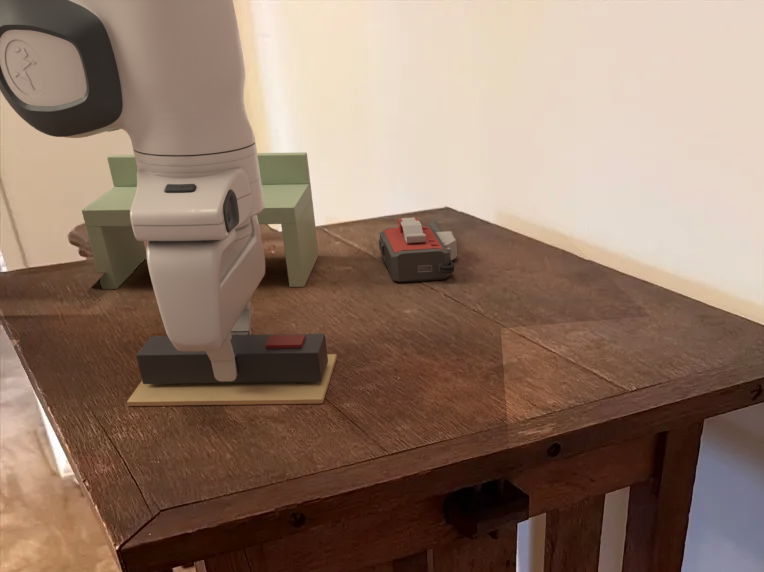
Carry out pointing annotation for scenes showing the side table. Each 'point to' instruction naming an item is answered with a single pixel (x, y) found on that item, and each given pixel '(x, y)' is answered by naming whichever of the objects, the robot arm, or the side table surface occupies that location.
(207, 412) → the side table surface
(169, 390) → the mat
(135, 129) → the robot arm
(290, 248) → the green bench
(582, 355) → the side table surface
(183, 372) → the remote
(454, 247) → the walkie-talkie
